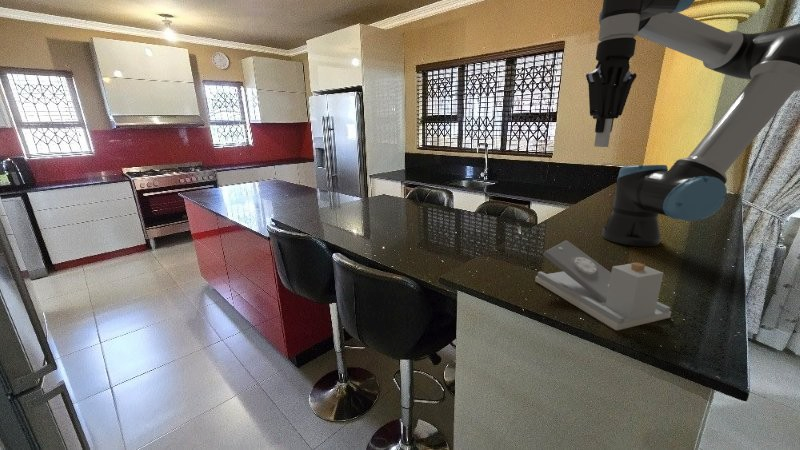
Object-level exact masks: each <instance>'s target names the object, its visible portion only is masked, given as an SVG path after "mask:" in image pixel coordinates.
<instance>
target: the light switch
mask: <svg viewBox="0 0 800 450" xmlns="http://www.w3.org/2000/svg"><path fill="white" fill-rule="evenodd" d="M542 255H543V257H545V258H546V259H547V260H548V261H550V262H551V263H552V264H553V265H555V266H556V267H557V268H559V270H561V272H563V271H564V272H565V273H566V274H567V275H569V276H570V277H571V278H572V279H574V280H575V281H576V282H577V283H579V284H580V285H581V286H582V287H584V288H585V289H586V290H587V291H589V292H590V293H591V294H592V295H594V296H595V297H596V298H597V299H599V300H600V301H601V302H605V301H606V300H607V295H608V289H609V283H610V278H611V272H612V271H609V270H608V269H606V268H605V267H604V266H602V264H600V263H599V262H597V261H596V260H595V259H593V257H590V256H589V255H587V254H586V253H585V252H583V251H582V250H581V249H580V248H578V247H577V246H575V245H574V244H572V243H571V242H570V241H568V240H567V239H566V240H564V241H562V242H560V243H558V244H556V245H554V246H552V247H550V248H548V249H547V250H545V251H544V252H543V254H542Z"/></svg>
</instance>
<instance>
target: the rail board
mask: <svg viewBox="0 0 800 450" xmlns="http://www.w3.org/2000/svg"><path fill="white" fill-rule="evenodd" d="M610 272H611V278H610V283H609V289H608V295H607V300H606V301H605V302H601V301H600V300H599V299H597V298H596V297H595V296H594V295H592V294H591V293H590V292H589V291H587V290H586V289H585V288H584V287H582V286H581V285H580V284H579V283H577V282H576V281H575V280H574V279H572V278H571V277H570V276H569V275H567V274H566V273H565V272H564V271H557V272H552V273H545V272H543V271H538V272H537V275H536V276H535V280H534V282H535V283H538V284H539V285H541V286H543V287H544V288H546V289H547V290H548V291H550V292H552V293H553V294H556V295H557V296H559V297H560V298H562V299H563V300H565V301H567V302H568V303H570V304H572V305H573V306H576V307H577V308H579V309H580V310H582V311H584V313H586V314H588V315H590V316H591V317H593V318H594V319H596V320H598V321H600V322H601V323H603V324H605V325H606V326H608V327H609V328H611V329H613V330H615V331H621V330H625V329H629V328H633V327H636V326H637V327H638V326H640V325H645V324H649V323H653V322H658V321H661V320H665V319H666V320H667V319H670V318H671V315H672V311H671V307H670V306H668V305H666V304H664V303H662V302H660V301H658V300H659V297H660V292H661V291H660V290H661V285H662V281H663V276H664V273H665V272H662V271H660V270H657V269H656V268H652V267H649V266H646V264H643V263H641V262H632V263H626V264H620V265H613V266H612V267H611V271H610Z"/></svg>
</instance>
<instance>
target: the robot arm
mask: <svg viewBox="0 0 800 450" xmlns="http://www.w3.org/2000/svg"><path fill="white" fill-rule="evenodd" d="M602 1H603V2H602V9H601V10H600V13H599V17H598V23H599V32H598V41H599V42H598V43H597V47H596V55H595V60H596V61H597V64H596V65H595V69H594V70H593V71H591V72H588V73H586V74H585V78H586V80H587V84H588V100H589V101H588V102H589V103H588V104H589V105H588V106H589V116H591V117H592V119H593V120H596V122H595V128H594V131H595V132H594V133H595V139H594V144H593V145H594V147H597V148H599V147H600V148H605V147H606V148H608V147H609V145H610V137H611V133H612V132H613V126H614V119H618V118H619V117H620V116H622V115H623V112H624V108H625V106H626V104H627V101H628V97H629V94H630V91H631V88H632V84H633V83H634V81H635V79H636V78H637V76H638V75H637V73H632V71H630V69H631V68H630V67H631V66H630V59H631V58H633V57H634V55H635V50H636V45H637V40H636V37H640V38H642V39H645V40H647V41H649V42H653V43H655V44H657V45H660V46H663V47H664V48H667V49H670V50H672V51H675V52H678V53H680V54H684V55H685V56H688V57H691V58H693V59H696V60H699V61H700V62H702V64H703V66H704V68H706V69H708V70H711V71H714V72H717V73H720V74H722V75H726V76H729V77H733V78H737V79H742V80H750V81H749V82H748V83H747V85H746V86H745V87H744V88H743V89H742V91H740V93H739V94H738V96H736V98H735V99H734V100H733V101H732V102H731V104H730V105H729V107H727V109H726V110H725V111H724V113H723V114H721V116H720V117H719V119H718V120H717V121H716V122H715V123H714V125H713V126H712V127H711V128H710V130H709V131H708V132H707V133H706V134H705V136H704V137H703V138H702V139H701V141H700V142H699V143H698V144H697V145H696V147H694V149H693V151H691V153H690V154H689V155H688V156H687V157H683V158H679V159H677V160H675V162H674V163H673V165H672V166H671V167H670V168H669V169H668V165H667V164H648V165H647V164H645V165H644V164H643V165H639V164H638V165H624V166H621V167H620V169H619V172H618V176H617V178H616V185H615V193H614V199H613V200H614V201H613V206H612V212H611V214H610V216H609V217H608V219H607V221H606V223H605V225H604V227H603V228H602V233H601V236H602V238H604V239H605V240H607V241H609V242H613V243H616V244H621V245H624V246H632V247H641V248H642V247H643V248H645V247H646V248H647V247H648V248H649V247H650V248H651V247H655V246H659V245H660V244H661V239H662V234H661V230H660V224H659V220H658V219H659V218H658V217H659V215H661V216H662V215H663V216H666V217H669V218H670V219H673V220H677V221H678V220H679V221H685V222H698V221H703V220H705V219H707V218H710V217H711V216H713V215H714V214H715V213H717V212H718V211H719V210H720V208H721V207H722V206H723V205H724V203H725V201H726V198H725V196H726V195H727V193H728V190H727V189H728V188H727V187H726V184H727V182H728V178H727V175H726V173H727V171H728V170H729V169H730V168H731V167H732V165H733V164H734V162H736V160H738V158H739V157H740V156H741V154H743V152H744V151H746V149H747V147H748V146H749V145H750V144H751V143H752V142H753V141H754V139H755V138H756V137H757V136H758V135H759V133H761V131H762V130H763V129H764V128H765V127H766V125H767V124H768V123H769V122H770V121H771V119H772V118H773V117H774V116H775V115H776V113H777V112H778V111H779V110H780V109H781V108H782V107H783V106H784V104H785V103H786V102H787V101H788V99H790V97H791V96H792V95H793V93H795V92H798V91H800V23H796V24H792V25H788V26H784V27H781V28H775V29H771V30H766V31H762V32H755V33H744V32H742V31H738V30H731V31H726V30H723V29H720V28H717V27H715V26H713V25H710V24H708V23H705V22H703V21H700V20H698V19H696V18H693V17H690V16H687V15H686V14H682V13H681V12H684V11H685V10H687V9H689V8H690V7H691V6H692V5H693V4H694V3H695V1H696V0H602Z"/></svg>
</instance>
